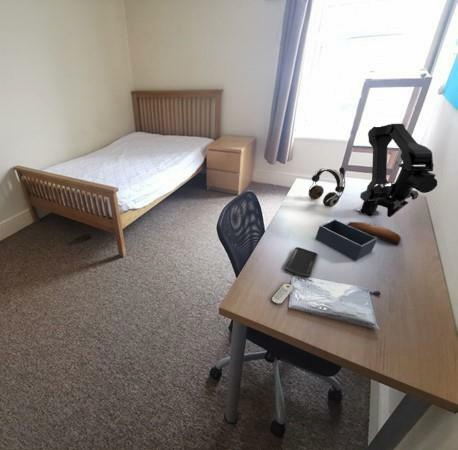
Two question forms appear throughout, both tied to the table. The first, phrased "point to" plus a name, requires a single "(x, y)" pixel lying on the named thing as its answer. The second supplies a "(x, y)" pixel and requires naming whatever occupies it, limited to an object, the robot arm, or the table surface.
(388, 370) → the table surface
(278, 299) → the keychain
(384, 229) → the sunglasses case
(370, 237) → the box
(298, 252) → the phone
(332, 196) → the headset
